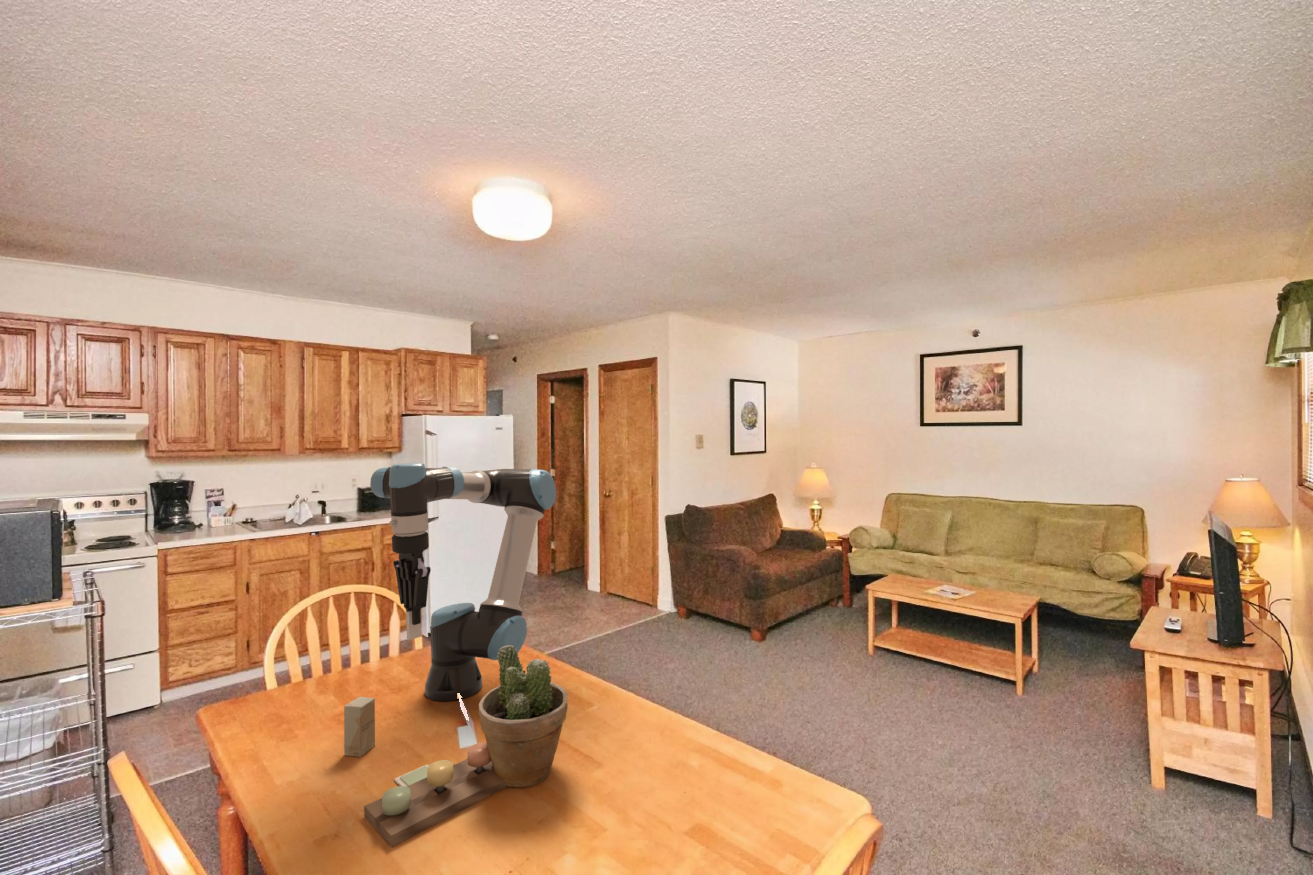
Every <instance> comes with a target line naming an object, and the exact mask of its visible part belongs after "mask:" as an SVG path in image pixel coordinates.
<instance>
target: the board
mask: <svg viewBox="0 0 1313 875" xmlns="http://www.w3.org/2000/svg"><path fill="white" fill-rule="evenodd" d="M407 787H409V788H410V790H411V805H410V807H409V808H408V809H407V810H406V811H404V812H402V813H400V814H397V815H394V816H393V815H385V814H384V813H383V812H382V797H381V798H378V799H375V801H372V802H370V803H368V804H365V805H363V806H364V807H363V808H364V809H363V810H364V814H363V815H364V818H365V819H366V820H367V821H368V822H369V824H370V825H371V826H372V827H373V828H374V829H375V830H376V832H377V833H378V834H379V835H380V836H381V837H382V838H383V839H384V840H385V842H386V843H387V844H388V845H389V846H390V848H393V847H395V846H397V845H398V844H400V843H402V842H404V841H406V840H408V839H410V838H412V837H413V836H416V835H417V834H419V833H421V832H424V831H425V830H427V829H429V828H431V827H432V826H435V825H436V824H438V823H440V822H442V821H445V820H446V819H448V818H451V817H452V816H454V815H456V814H458V813H460V812H461V811H463V810H465V809H468V808H470V807H471V806H473V805H475V804H477V803H478V802H479V803H480V802H481V801H482V800H484V799H487V798H488V797H490V796H492V795H494V794H496V793H497V792H499V791H501V790H503V789H506V788H507V787H508V786H507V785H506V784H505V781H504V778H501V777H499V776H498V775H497V774H496V773H495V771H494V768H493V765H492V762H490V763H488V764H487V765H485V766H483V772H482V773H477V772H476V767H471V766H469V765H468V763H467V758H466V759H464V760H461V761H460V762H457V763H454V764H453V779H452V780H451V781H450V782H449V783H447V784H445V785H444V791H443V792H437V787H434V786H430V785H428V783H427V777H426V778H424V779H422V780H420V781H418V782H415V783H413V784H411V785H409V786H407Z"/></svg>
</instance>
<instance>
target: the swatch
mask: <svg viewBox="0 0 1313 875" xmlns="http://www.w3.org/2000/svg"><path fill="white" fill-rule="evenodd" d="M429 765H430V764H427V763H426V764H425V765H423V766H420V767H417V768H416V769H414V770H410V771H409V772H406V773H404V774H402V775H400V776H397V777H395V778H394V782H395V783H396V784H397V785H398V786H406V787H407V786H409V785H411V784H413V783H415V782H418V781H420V780H422V779H424V778H426V777H427V768H428V766H429Z"/></svg>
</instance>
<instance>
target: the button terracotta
mask: <svg viewBox="0 0 1313 875" xmlns="http://www.w3.org/2000/svg"><path fill="white" fill-rule="evenodd" d="M466 750H467V752H466V753H467V754H466V756H467V758H466V759H467V763H468V765H469V766H471V767H476V772H477V773H482V772H483V766H485V765H487V764H488V763H490V762H491V758H490V754H489V750H488V747H487V742H478V743H474V744H472V745H470V746H469V747H468V749H466Z"/></svg>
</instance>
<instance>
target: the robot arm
mask: <svg viewBox="0 0 1313 875" xmlns="http://www.w3.org/2000/svg"><path fill="white" fill-rule="evenodd" d="M370 477H371V478H370V490H371V492H372V494H373V495H374V496H376V497H378V498H383V499H384V498H385V499H389V502H390V503H389V504H390V521H389V525H390V526H391V533H392V534H393V535H392V536H391V550H392V552H393V553H395V554H397V555H398V560H394V561H393V562H392V563H393V568H394V570H395V576H396V581H397V583H396V584H397V589H398V595H399V596H398V597H399V604H401V605H403V607H404V608H403V609H405V620H406V621H405V622H406V623H405V624H406V639H407V640H409V641H411V640H415V639H418V638H421V637H422V636H423V634H422V633H423V632H422V631H423V630H422V612H421V610H422V609H423V608H426V607H427V600H428V588H429V578H430V574H431V569H432V568H431V567H430V566H427V567H426V565H425V564H424V563H425V558H424V551H426V550H428V549H429V546H430V545H429V543H430V541H429V537H430V536H429V532H427V531H428V530H429V512H428V503H431V502H436V501H437V502H438V501H441V500H467V501H469V502H471V503H473V504H485V505H490V506H496V507H501V508H504V511H505V514H506V515H507V518H506V522H505V526H504V530H503V535H502V539H501V543H500V547H499V549H498V550H499V551H498V555H497V559H496V563H495V567H494V571H493V575H492V578H491V585H490V587H489V592H488V596H487V598H486V599H485V600H484V601H482V602H481V603H480V605H479V608H478V611H476V606H475V604H474V603H473V602H461V603H454V604H449V605H446V606H443V607H440V608H438V609H436V610H435V611H433V613H432V614H431V617H430V626H429V629H430V630H429V631H430V656H431V660H430V661H431V664H430V668H429V670H428V671H429V672H428V675H427V677H426V681H425V685H424V695H425V697H427V699H429V700H432V701H437V702H449V701H450V702H452V701H458V700H457V693H460V695H461V696H462V697H463V698H462V699H465V698H469V697H470V696H473V695H475V694H476V693H478V692H479V691H481V690H482V688H483V676H482V673H481V671H480V670H481V669H480V668H479V664H478V662H477V660H476V658H480V659H481V658H483V659H487V660H488V659H489V660H492V661H498V660H499V659H498V658H497V655H498V652H499V651H498V650H499V649H500V648H501V647H503V646H508V645H512V646H514V647H515V648H516V652H518V653H519V652H520V651H521V649H522V647H523V646H524V643H525V641H526V638H527V634H528V627H527V625H528V624H527V620H526V619H525V618H524V617H523V616H522V615H523V609H522V607H521V606H520V599H521V595H522V590H523V586H524V582H525V577H526V572H527V568H528V563H529V560H530V559H529V558H530V555H531V550H532V546H533V543H534V542H533V541H534V536H535V533H536V527H537V525H538V524H537V522H539V521H540V520H541V519H543V518H544V515H545V512H546V510H549V509H551V508H552V507H553V506H554V505H555V502H556V499H557V498H556V497H557V489H556V484H555V481H554V480H555V479H554V478H553V476H552V475H551V473H550V472H548V471H547V470H545V469H538V468H537V469H536V468H532V469H531V468H526V469H525V468H500V469H499V468H498V469H497V468H496V469H490V470H473V471H470V472H461V470H460V469H459V468H457V467H455V466H442V467H427V466H426V464H424V463H422V462H407V463H406V462H404V463H396V464H393V465H392V466H388V467H380V468H377V469H376V470H375V471H374V472H373V473H372V475H371V476H370Z"/></svg>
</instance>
